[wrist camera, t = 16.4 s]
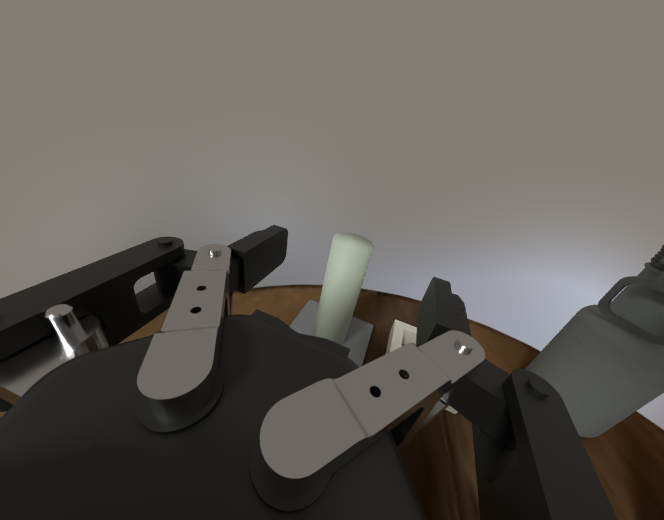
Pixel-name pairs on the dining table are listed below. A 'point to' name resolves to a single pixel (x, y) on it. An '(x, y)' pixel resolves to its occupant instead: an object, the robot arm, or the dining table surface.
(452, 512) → the dining table surface
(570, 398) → the water bottle
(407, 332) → the cream pocket
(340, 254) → the sage canister
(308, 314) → the gray mat
